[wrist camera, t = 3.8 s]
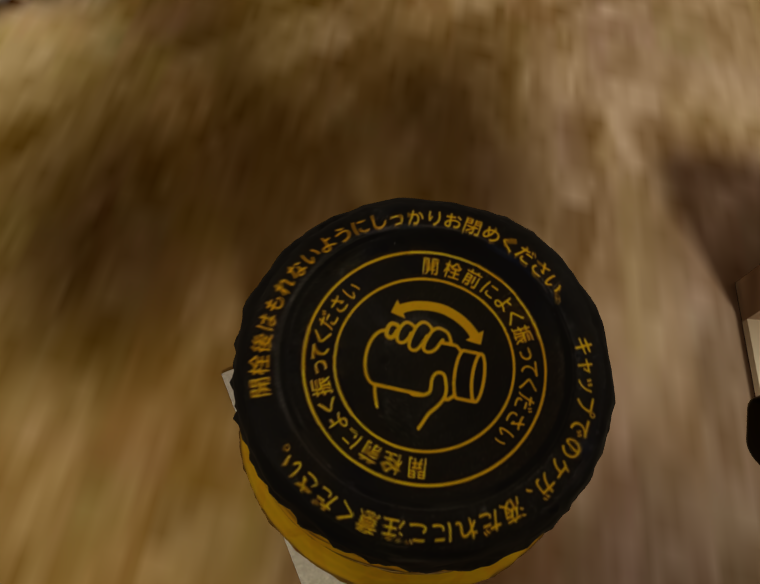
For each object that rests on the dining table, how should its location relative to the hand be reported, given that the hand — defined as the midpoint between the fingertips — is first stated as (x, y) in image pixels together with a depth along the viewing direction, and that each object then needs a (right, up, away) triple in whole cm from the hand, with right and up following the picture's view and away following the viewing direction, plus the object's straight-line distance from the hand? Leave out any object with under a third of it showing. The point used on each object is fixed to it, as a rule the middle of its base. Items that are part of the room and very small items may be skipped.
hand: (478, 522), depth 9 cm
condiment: (-1, -2, +11) cm, 11 cm away
